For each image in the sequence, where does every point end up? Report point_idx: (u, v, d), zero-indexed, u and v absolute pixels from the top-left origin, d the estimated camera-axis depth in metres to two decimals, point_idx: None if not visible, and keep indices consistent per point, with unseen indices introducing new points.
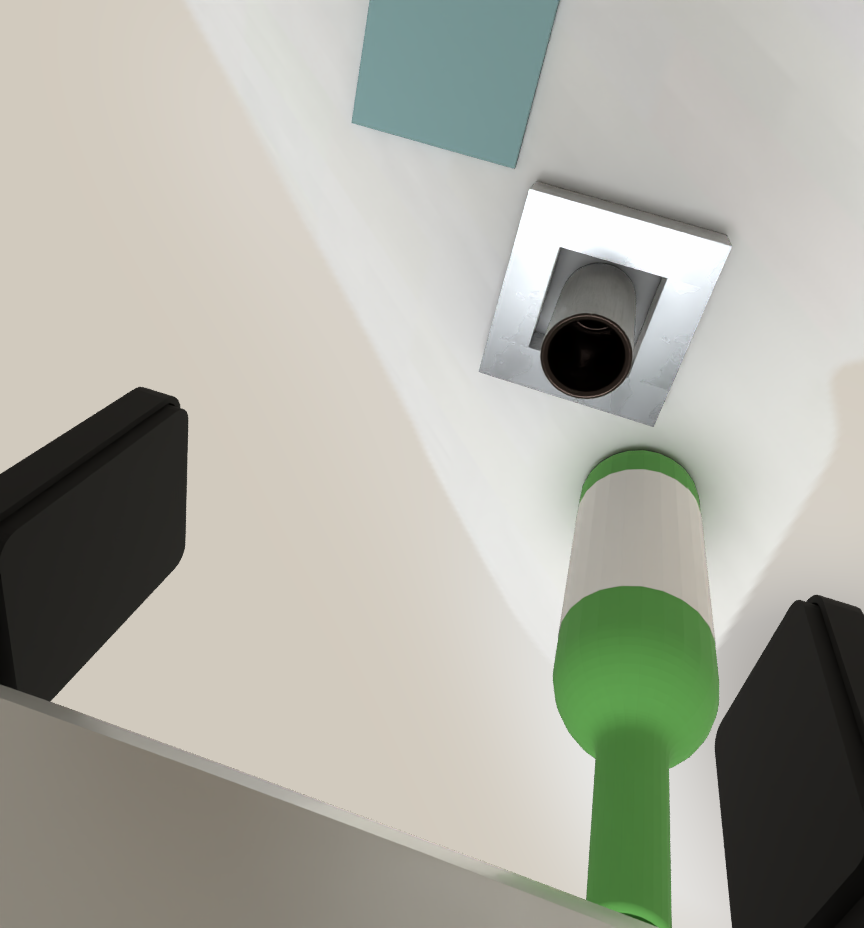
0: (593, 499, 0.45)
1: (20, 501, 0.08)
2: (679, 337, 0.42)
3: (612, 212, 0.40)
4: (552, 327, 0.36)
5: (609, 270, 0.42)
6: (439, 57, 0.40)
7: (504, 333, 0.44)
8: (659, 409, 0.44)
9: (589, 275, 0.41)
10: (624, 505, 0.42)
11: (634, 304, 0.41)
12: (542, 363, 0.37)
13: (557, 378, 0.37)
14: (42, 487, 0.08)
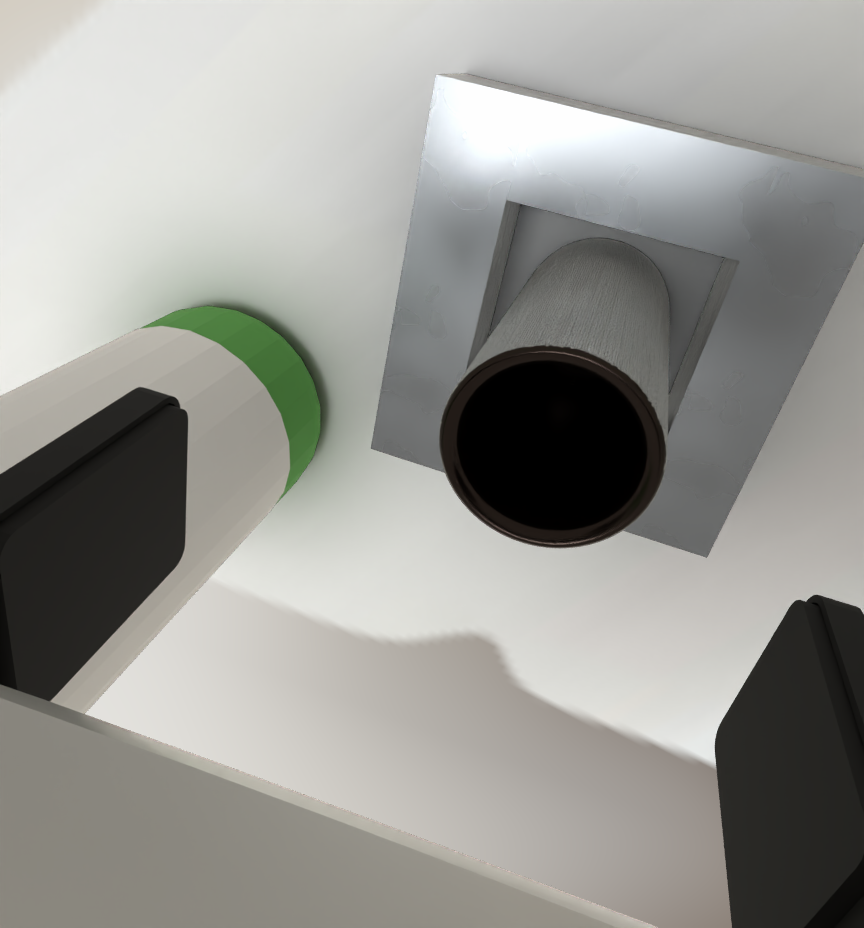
0: (204, 383, 0.22)
1: (20, 500, 0.08)
2: None
3: (799, 365, 0.20)
4: (627, 376, 0.13)
5: None
6: None
7: (536, 139, 0.19)
8: (404, 457, 0.24)
9: (669, 326, 0.20)
10: (210, 472, 0.20)
11: None
12: (525, 352, 0.14)
13: (485, 385, 0.14)
14: (42, 487, 0.08)
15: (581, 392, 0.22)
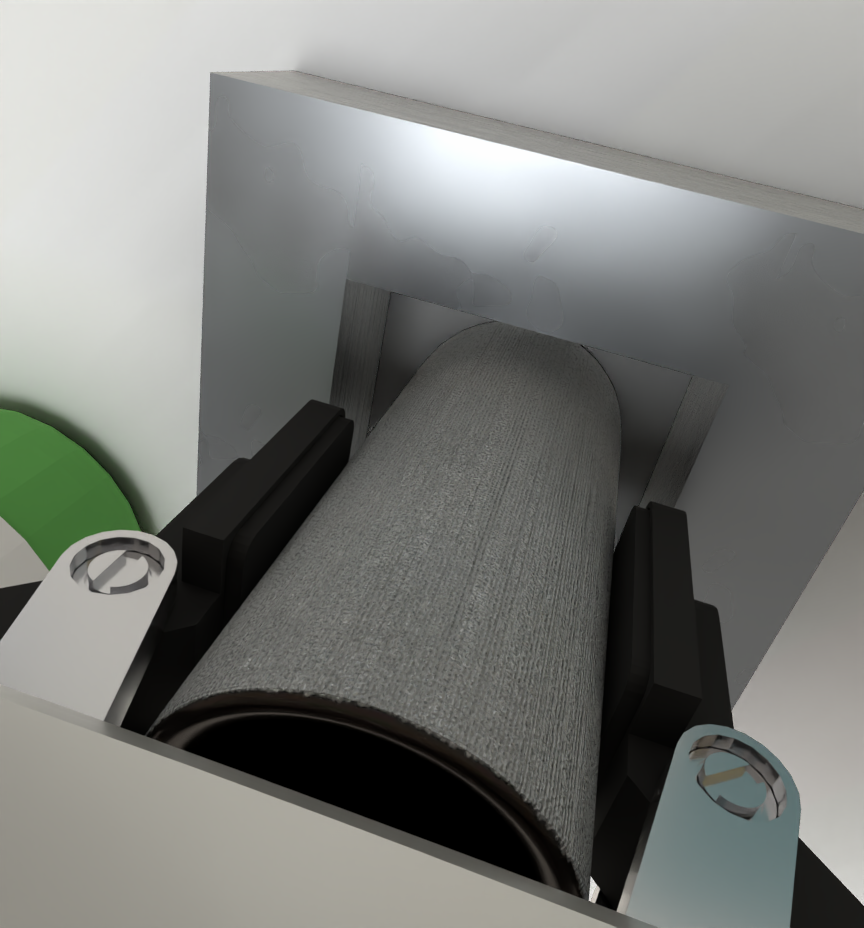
0: None
1: (253, 508, 0.09)
2: None
3: None
4: (489, 770, 0.06)
5: None
6: None
7: (384, 182, 0.11)
8: None
9: (616, 478, 0.12)
10: None
11: None
12: (262, 704, 0.06)
13: (202, 737, 0.07)
14: (265, 495, 0.09)
15: None
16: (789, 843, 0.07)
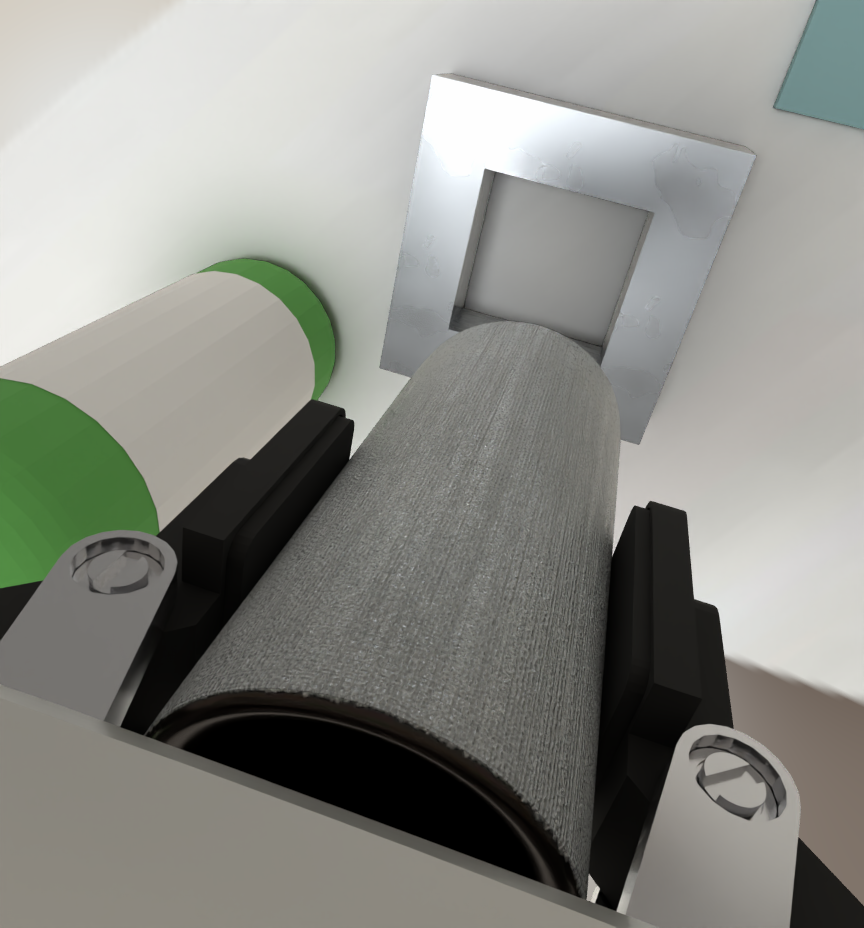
0: (253, 311, 0.28)
1: (252, 508, 0.09)
2: None
3: (700, 290, 0.27)
4: (487, 770, 0.06)
5: None
6: None
7: (506, 122, 0.25)
8: (406, 374, 0.31)
9: (615, 479, 0.12)
10: (262, 376, 0.27)
11: None
12: (260, 704, 0.06)
13: (201, 736, 0.07)
14: (265, 495, 0.09)
15: None
16: (789, 843, 0.07)
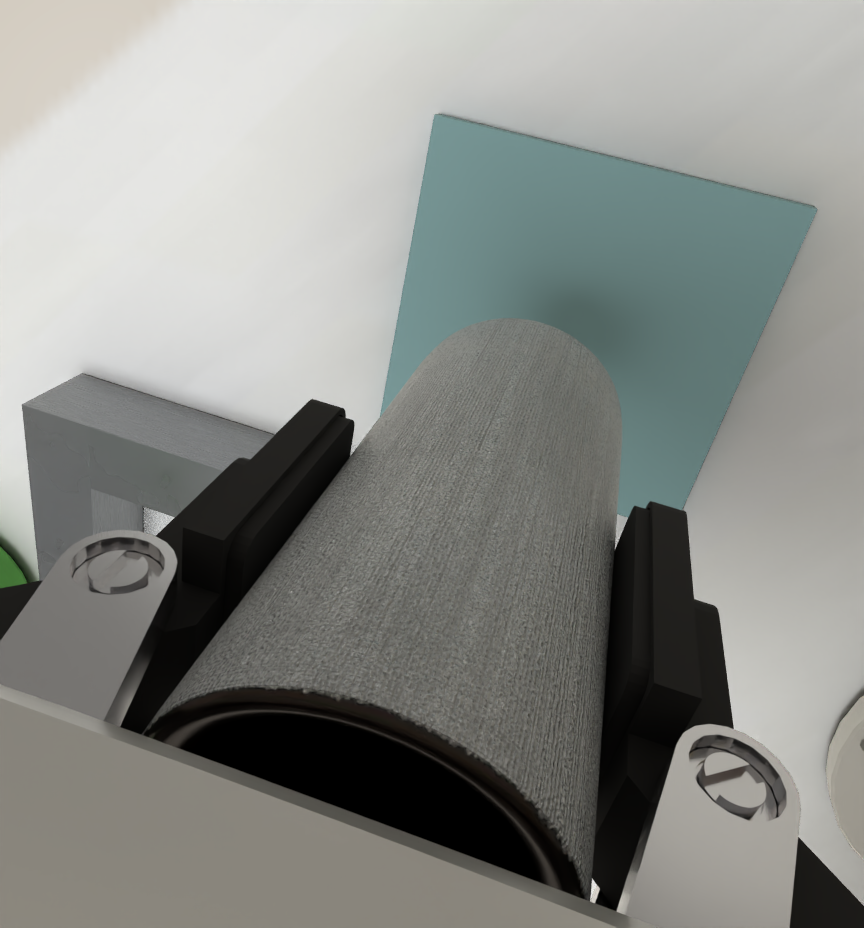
0: None
1: (253, 508, 0.09)
2: None
3: None
4: (490, 768, 0.06)
5: None
6: (551, 317, 0.21)
7: (99, 452, 0.25)
8: None
9: (617, 476, 0.12)
10: None
11: None
12: (260, 702, 0.06)
13: (200, 736, 0.07)
14: (265, 495, 0.09)
15: None
16: (789, 843, 0.07)
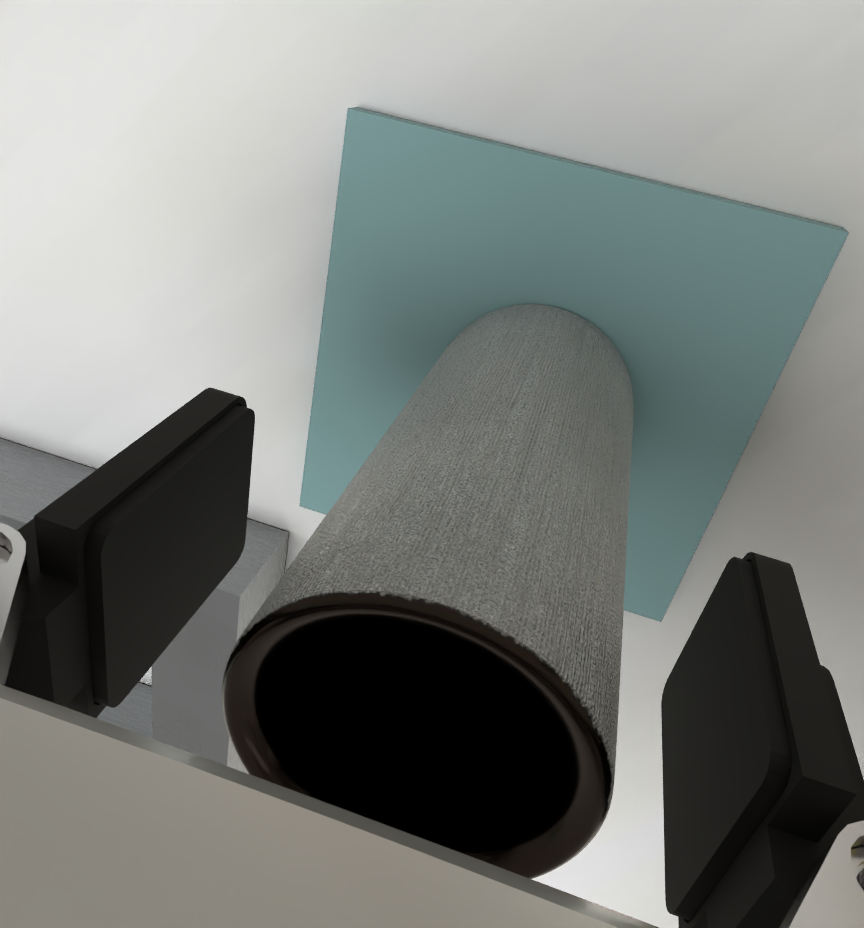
0: None
1: (116, 496, 0.08)
2: None
3: None
4: (534, 655, 0.07)
5: None
6: None
7: None
8: None
9: (630, 444, 0.14)
10: None
11: None
12: (344, 604, 0.07)
13: (287, 641, 0.08)
14: (134, 483, 0.09)
15: None
16: None
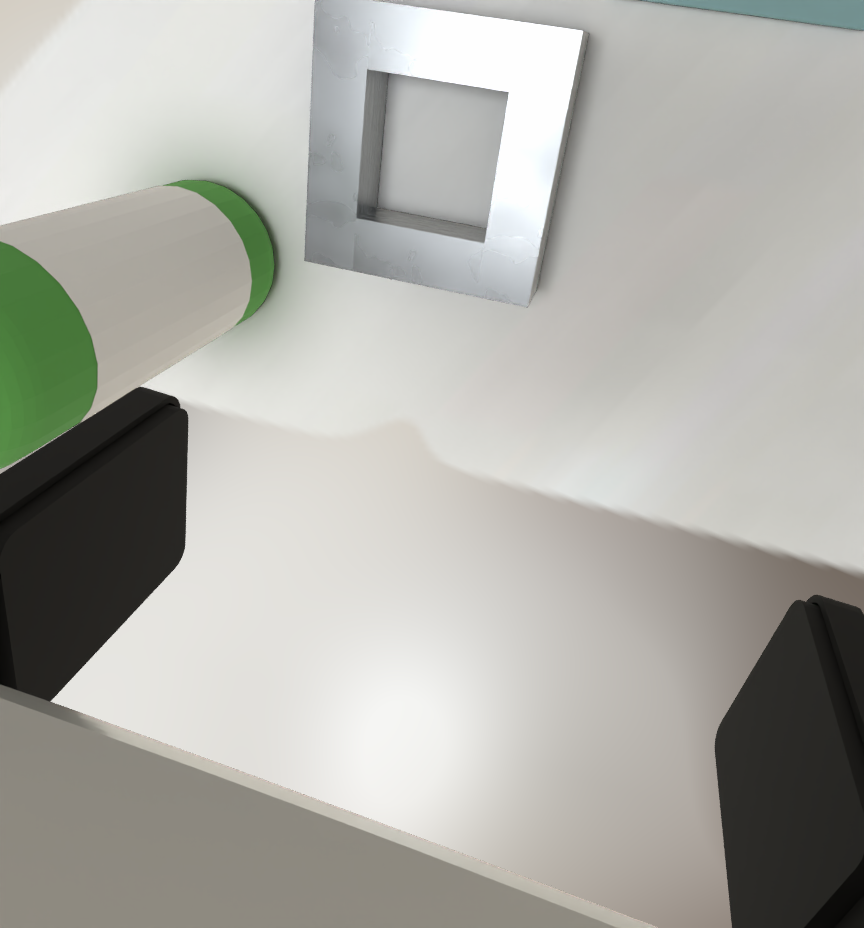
0: (188, 210, 0.34)
1: (20, 500, 0.08)
2: (416, 270, 0.35)
3: (557, 158, 0.31)
4: None
5: None
6: None
7: (379, 26, 0.30)
8: (327, 263, 0.36)
9: None
10: (194, 258, 0.32)
11: None
12: None
13: None
14: (42, 487, 0.08)
15: None
16: None
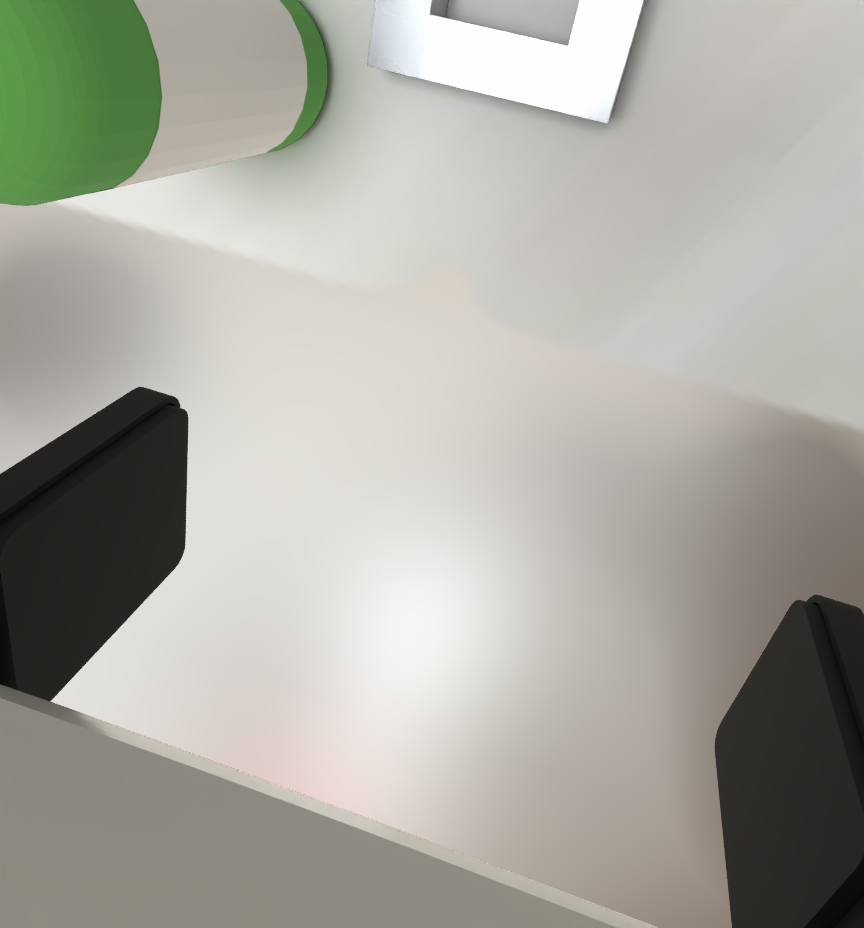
0: None
1: (20, 501, 0.08)
2: (490, 78, 0.32)
3: None
4: None
5: None
6: None
7: None
8: (391, 69, 0.33)
9: None
10: (257, 32, 0.29)
11: None
12: None
13: None
14: (42, 487, 0.08)
15: None
16: None
